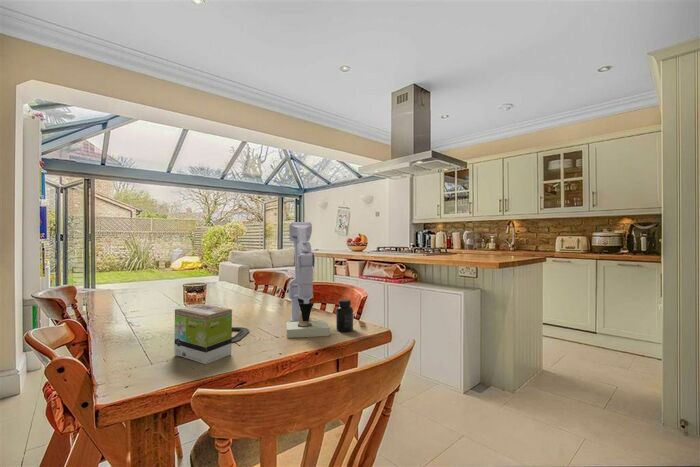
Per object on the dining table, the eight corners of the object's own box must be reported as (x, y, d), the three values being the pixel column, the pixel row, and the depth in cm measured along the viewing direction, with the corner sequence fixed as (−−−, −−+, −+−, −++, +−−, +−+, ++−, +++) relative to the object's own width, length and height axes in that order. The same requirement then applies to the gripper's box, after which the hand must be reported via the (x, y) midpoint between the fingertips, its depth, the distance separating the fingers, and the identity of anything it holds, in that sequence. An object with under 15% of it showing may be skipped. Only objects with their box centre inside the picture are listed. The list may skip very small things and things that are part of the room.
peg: (298, 331, 130) (299, 311, 130) (309, 331, 131) (309, 310, 131) (298, 334, 126) (298, 313, 126) (309, 334, 127) (309, 313, 127)
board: (286, 329, 133) (286, 322, 133) (325, 327, 136) (326, 320, 136) (286, 337, 122) (286, 329, 122) (329, 335, 125) (329, 327, 125)
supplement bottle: (353, 328, 136) (354, 298, 136) (352, 332, 129) (352, 302, 129) (337, 327, 137) (337, 298, 137) (335, 332, 130) (335, 301, 130)
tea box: (172, 356, 102) (173, 308, 102) (200, 346, 111) (201, 302, 111) (205, 365, 95) (206, 314, 95) (232, 354, 104) (233, 307, 104)
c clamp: (230, 348, 111) (230, 340, 111) (183, 346, 113) (183, 338, 113) (255, 331, 131) (255, 324, 131) (214, 329, 133) (214, 322, 133)
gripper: (294, 281, 135) (293, 314, 135) (295, 286, 121) (295, 324, 121) (311, 281, 136) (311, 313, 136) (315, 286, 122) (314, 323, 122)
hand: (305, 318), depth 129 cm, fingers open, 7 cm apart
